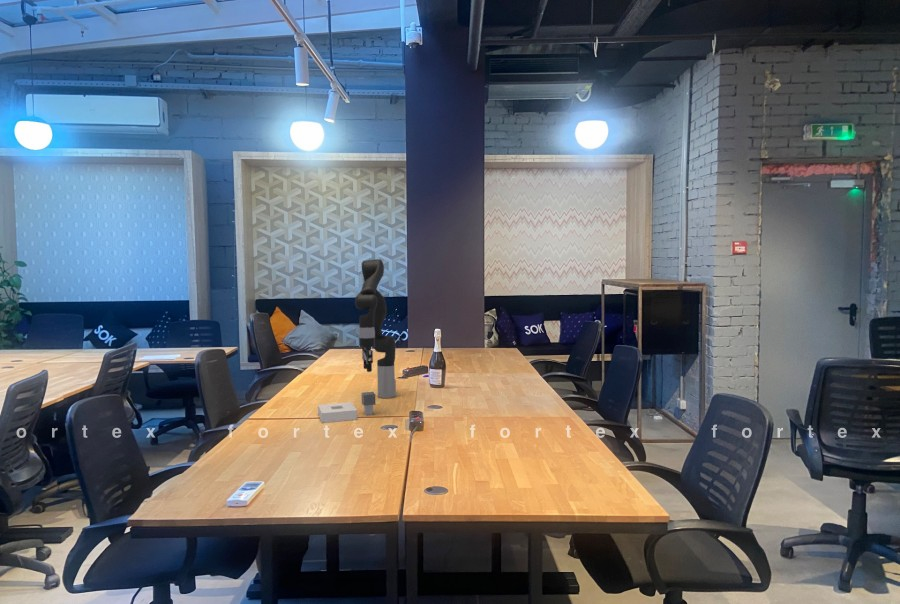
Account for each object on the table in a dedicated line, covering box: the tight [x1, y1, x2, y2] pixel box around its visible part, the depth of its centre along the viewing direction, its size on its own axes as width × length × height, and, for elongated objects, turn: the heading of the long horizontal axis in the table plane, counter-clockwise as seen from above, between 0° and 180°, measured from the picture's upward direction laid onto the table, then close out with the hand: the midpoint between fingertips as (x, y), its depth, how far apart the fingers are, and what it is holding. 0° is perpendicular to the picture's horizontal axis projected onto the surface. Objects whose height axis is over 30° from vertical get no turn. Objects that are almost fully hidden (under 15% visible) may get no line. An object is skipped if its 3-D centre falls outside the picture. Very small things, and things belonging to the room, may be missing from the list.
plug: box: [361, 391, 376, 416], centre depth 283 cm, size 6×6×10 cm
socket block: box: [317, 401, 358, 424], centre depth 278 cm, size 16×16×4 cm
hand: (367, 370), depth 282 cm, fingers open, 8 cm apart
